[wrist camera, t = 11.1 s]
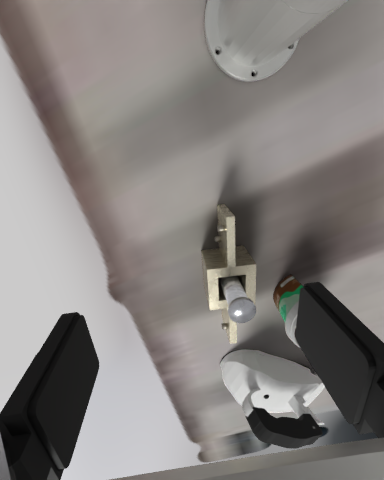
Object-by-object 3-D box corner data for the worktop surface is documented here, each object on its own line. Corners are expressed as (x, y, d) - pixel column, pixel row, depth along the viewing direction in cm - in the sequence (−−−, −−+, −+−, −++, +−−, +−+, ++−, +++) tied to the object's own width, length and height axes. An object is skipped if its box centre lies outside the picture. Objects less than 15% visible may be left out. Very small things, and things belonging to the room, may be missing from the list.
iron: (293, 397, 61) (329, 471, 48) (210, 375, 56) (223, 453, 42) (318, 368, 58) (365, 439, 44) (232, 341, 52) (255, 414, 38)
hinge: (197, 206, 40) (203, 219, 33) (243, 202, 40) (257, 214, 34) (206, 319, 49) (212, 346, 42) (243, 314, 49) (254, 340, 43)
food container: (259, 281, 46) (281, 316, 37) (288, 268, 46) (318, 300, 37) (277, 324, 51) (301, 365, 42) (304, 313, 51) (334, 351, 41)
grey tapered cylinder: (212, 258, 44) (228, 302, 32) (232, 256, 44) (256, 298, 32) (213, 276, 45) (229, 324, 33) (233, 273, 45) (255, 321, 34)
